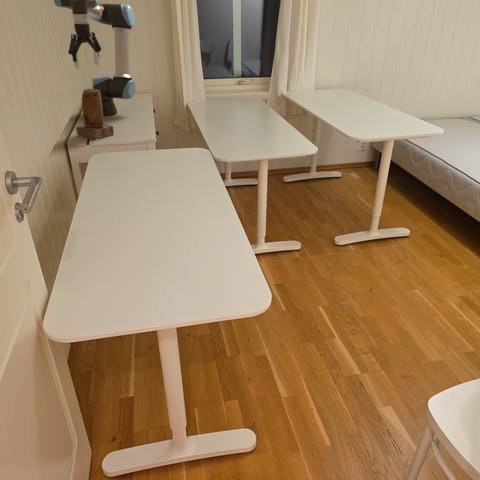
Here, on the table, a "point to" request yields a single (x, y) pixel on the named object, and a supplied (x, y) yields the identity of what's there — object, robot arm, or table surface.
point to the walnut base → (95, 132)
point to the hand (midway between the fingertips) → (87, 66)
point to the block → (92, 108)
